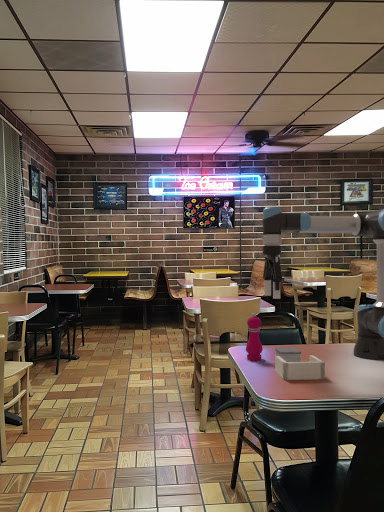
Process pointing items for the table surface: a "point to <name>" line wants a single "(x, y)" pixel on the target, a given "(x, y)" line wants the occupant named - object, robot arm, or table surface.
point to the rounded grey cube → (288, 354)
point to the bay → (300, 369)
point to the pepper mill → (254, 339)
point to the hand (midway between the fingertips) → (272, 297)
